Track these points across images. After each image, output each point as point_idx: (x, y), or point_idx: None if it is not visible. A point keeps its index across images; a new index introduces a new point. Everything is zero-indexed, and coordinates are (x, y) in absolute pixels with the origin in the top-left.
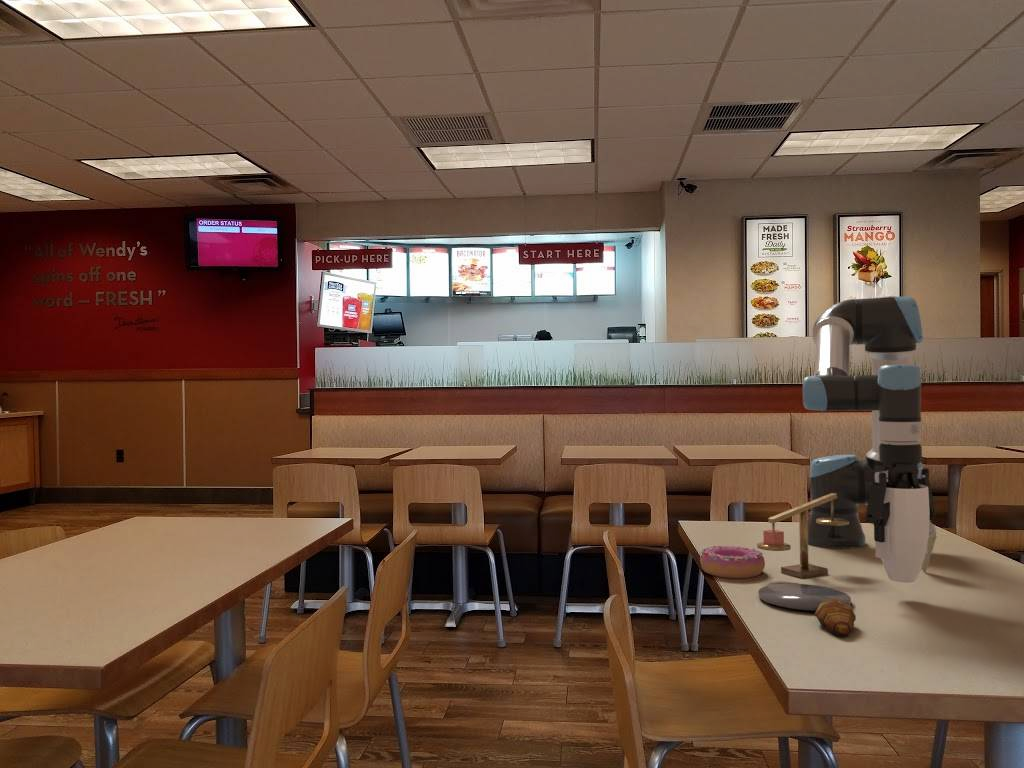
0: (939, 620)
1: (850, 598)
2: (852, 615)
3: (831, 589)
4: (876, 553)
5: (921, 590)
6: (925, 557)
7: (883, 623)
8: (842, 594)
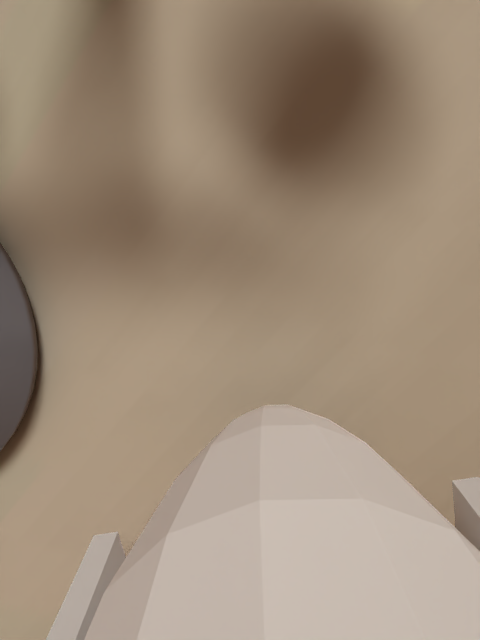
0: None
1: (7, 437)
2: None
3: (6, 301)
4: (86, 560)
5: (441, 342)
6: None
7: (6, 605)
8: (9, 381)
